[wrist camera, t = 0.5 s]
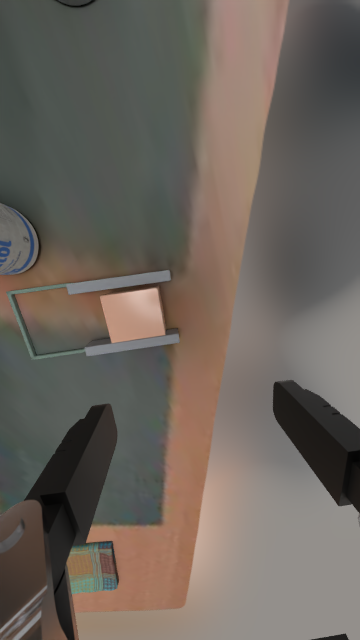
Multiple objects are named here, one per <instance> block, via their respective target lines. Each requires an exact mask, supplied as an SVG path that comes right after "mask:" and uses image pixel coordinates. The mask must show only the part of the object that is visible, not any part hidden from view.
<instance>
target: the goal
mask: <svg viewBox="0 0 360 640" xmlns="http://www.w3.org/2000/svg"><path fill="white" fill-rule="evenodd" d="M66 284H72V283H66ZM66 284H59V285H52V286H45V287H37V288H30V289H23V290H16V291H9V292H6V293H7V295H8V298H9V301H10V303H11V306H12V308H13V311H14V314H15V316H16V319H17V322H18V324H19V327H20V329H21V332H22V335H23V337H24V340H25V343H26V345H27V348H28V350H29V353H30V356H31V358H32V360H34V359H41V358H48V357H55V356H61V355H68V354H75V353H82V352H86V351H85V348H82V349H75V350H69V351H62V352H55V353H48V354H41V355H36V352H35V350H34V347H33V344H32V342H31V339H30V336H29V334H28V331H27V328H26V326H25V323H24V320H23V317H22V315H21V312H20V309H19V307H18V304H17V301H16V299H15V296H14V294H19V293H26V292H33V291H40V290H47V289H55V288H62V287H66Z"/></svg>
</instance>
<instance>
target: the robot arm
mask: <svg viewBox="0 0 360 640" xmlns="http://www.w3.org/2000/svg"><path fill="white" fill-rule="evenodd" d="M58 1H60V2H62V3H65V4H68V5H78V6H79V5H83V4H87V3H88V2H90V1H92V0H58ZM273 412H274V415H275V418H276V420H277V422H278V423H279V425H280V426H281V427H282V429H283V430H284V431H285V433H286V434H287V436H288V437H289V438H290V440H291V441H292V443H293V444H294V445H295V446H296V448H297V449H298V450H299V452H300V453H301V455H302V456H303V458H304V459H305V460H306V462H307V463H308V465H309V466H310V467H311V469H312V470H313V471H314V473H315V474H316V476H317V477H318V478H319V480H320V481H321V482H322V483H323V485H324V487H325V488H326V489H327V491H328V492H329V493H330V495H331V496H332V498H333V499H334V500H335V501H336V503H337V504H338V506H344V505H351V504H353V506H354V507H355V508H356V510H357V511H358V512H359V517H358V519H359V525H360V429H359V428H358V427H357V426H356V425H355V424H353V423H352V422H351V421H350V420H348V419H347V418H346V417H345V416H343V415H341V414H340V412H339V411H337V410H336V409H335V408H333V407H331V405H330V404H329V403H328V402H326V401H325V400H324V399H323V398H321V397H320V396H319V395H317V394H314V393H313V392H311V391H309V390H307V389H305V390H304V389H302V388H301V387H300V386H299V385H298V384H297V383H295V382H294V381H293V380H286V381H278V382H275V383H274V390H273ZM116 443H117V428H116V424H115V420H114V415H113V411H112V408H111V405H110V404H102V405H95V406H92V407H91V408H90V410H89V412H88V413H87V415H86V417H85V418H84V419H80V420H79V421H78V422H77V423H76V424H75V425H74V426H73V427H71V428H70V429H69V431H68V432H67V434H66V436H65V437H64V439H63V440H62V443H61V444H60V445H59V447H58V448H57V450H56V451H55V454H53V456H52V457H51V459H50V461H49V462H48V464H47V465H46V467H45V468H44V470H43V472H42V473H41V475H40V476H39V478H38V479H37V481H36V483H35V484H34V486H33V487H32V489H31V490H30V492H29V494H28V495H27V497H26V498H25V500H24V501H23V502H20V503H18V504H16V505H15V506H13V507H11V508H10V509H9V510H7V511H6V512H5V513H3V514H2V515H1V516H0V640H79V638H78V631H77V625H76V619H75V612H74V605H73V599H72V592H71V586H70V579H69V572H68V567H67V560H68V557H69V554H70V551H71V548H72V546H75V545H82V544H85V543H86V540H87V537H88V534H89V530H90V527H91V524H92V521H93V518H94V514H95V511H96V508H97V505H98V501H99V498H100V495H101V492H102V488H103V485H104V482H105V479H106V476H107V472H108V469H109V466H110V463H111V459H112V456H113V453H114V450H115V446H116ZM312 640H348V638H347V635H346V634H341V635H335V636H329V637H324V638H318V639H312Z"/></svg>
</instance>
